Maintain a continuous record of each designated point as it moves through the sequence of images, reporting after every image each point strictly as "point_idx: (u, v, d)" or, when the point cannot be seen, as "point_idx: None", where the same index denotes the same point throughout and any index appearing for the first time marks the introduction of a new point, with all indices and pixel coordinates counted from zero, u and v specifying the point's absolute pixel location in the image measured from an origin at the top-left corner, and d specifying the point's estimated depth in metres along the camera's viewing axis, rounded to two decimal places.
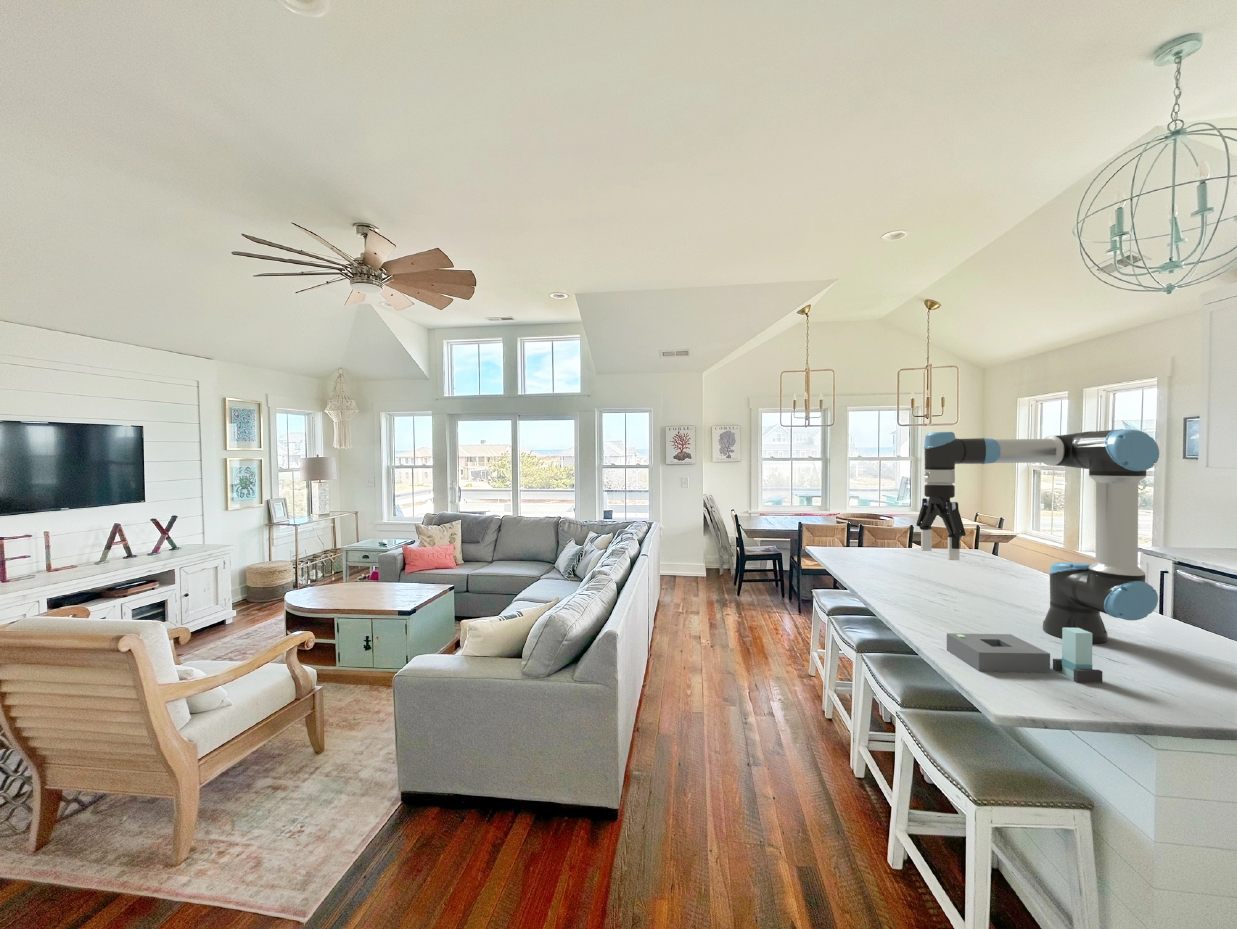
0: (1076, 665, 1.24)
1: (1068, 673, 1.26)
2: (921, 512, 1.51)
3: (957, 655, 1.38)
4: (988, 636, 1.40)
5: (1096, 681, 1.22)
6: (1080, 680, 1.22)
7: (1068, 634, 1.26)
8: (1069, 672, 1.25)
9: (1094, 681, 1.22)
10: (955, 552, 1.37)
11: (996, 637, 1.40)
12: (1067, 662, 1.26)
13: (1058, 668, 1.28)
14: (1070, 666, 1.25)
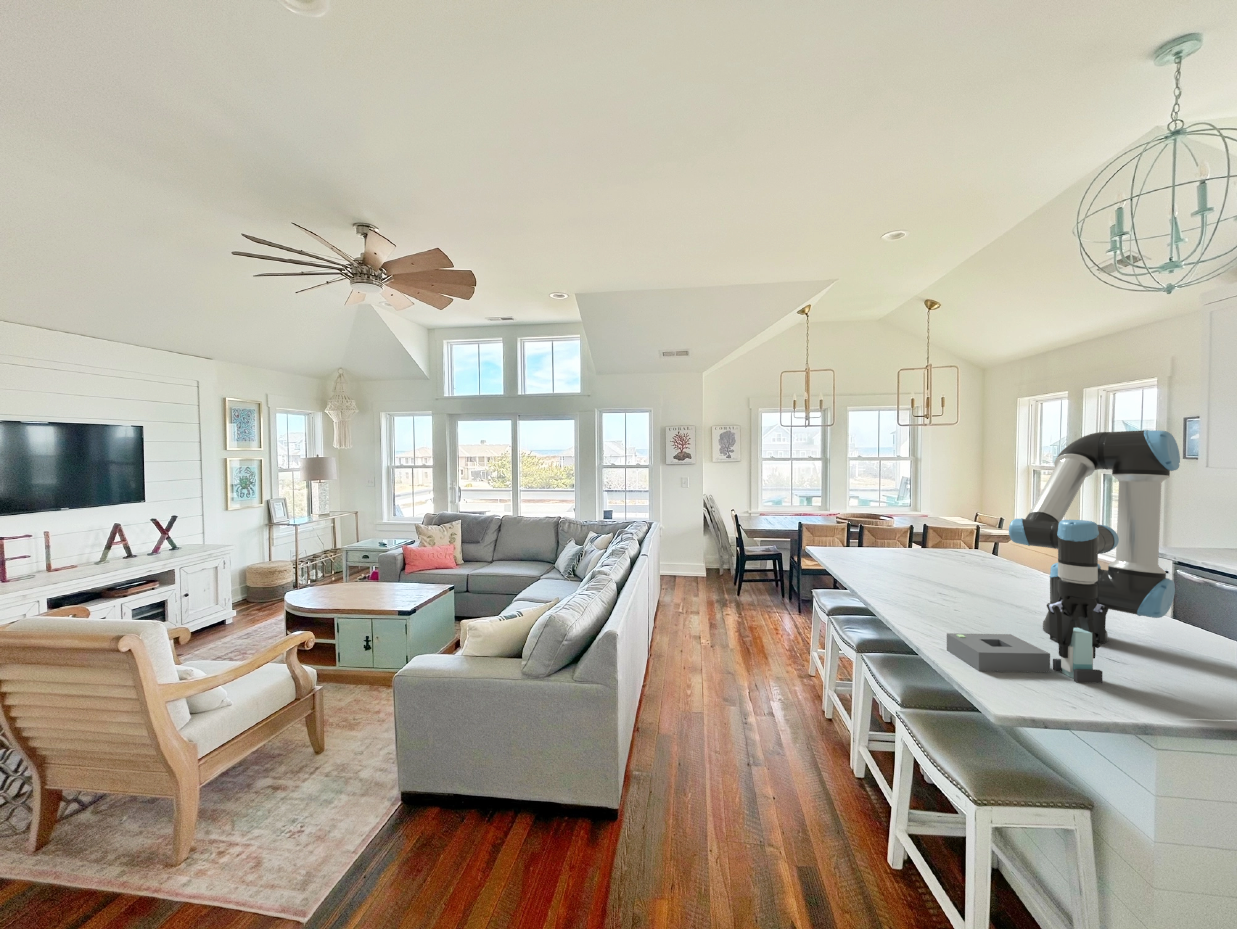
0: (1076, 665, 1.24)
1: (1068, 673, 1.26)
2: None
3: (957, 655, 1.38)
4: (988, 636, 1.40)
5: (1096, 681, 1.22)
6: (1080, 680, 1.22)
7: None
8: (1069, 672, 1.25)
9: (1094, 681, 1.22)
10: (1066, 662, 1.25)
11: (996, 637, 1.40)
12: None
13: (1058, 668, 1.28)
14: None
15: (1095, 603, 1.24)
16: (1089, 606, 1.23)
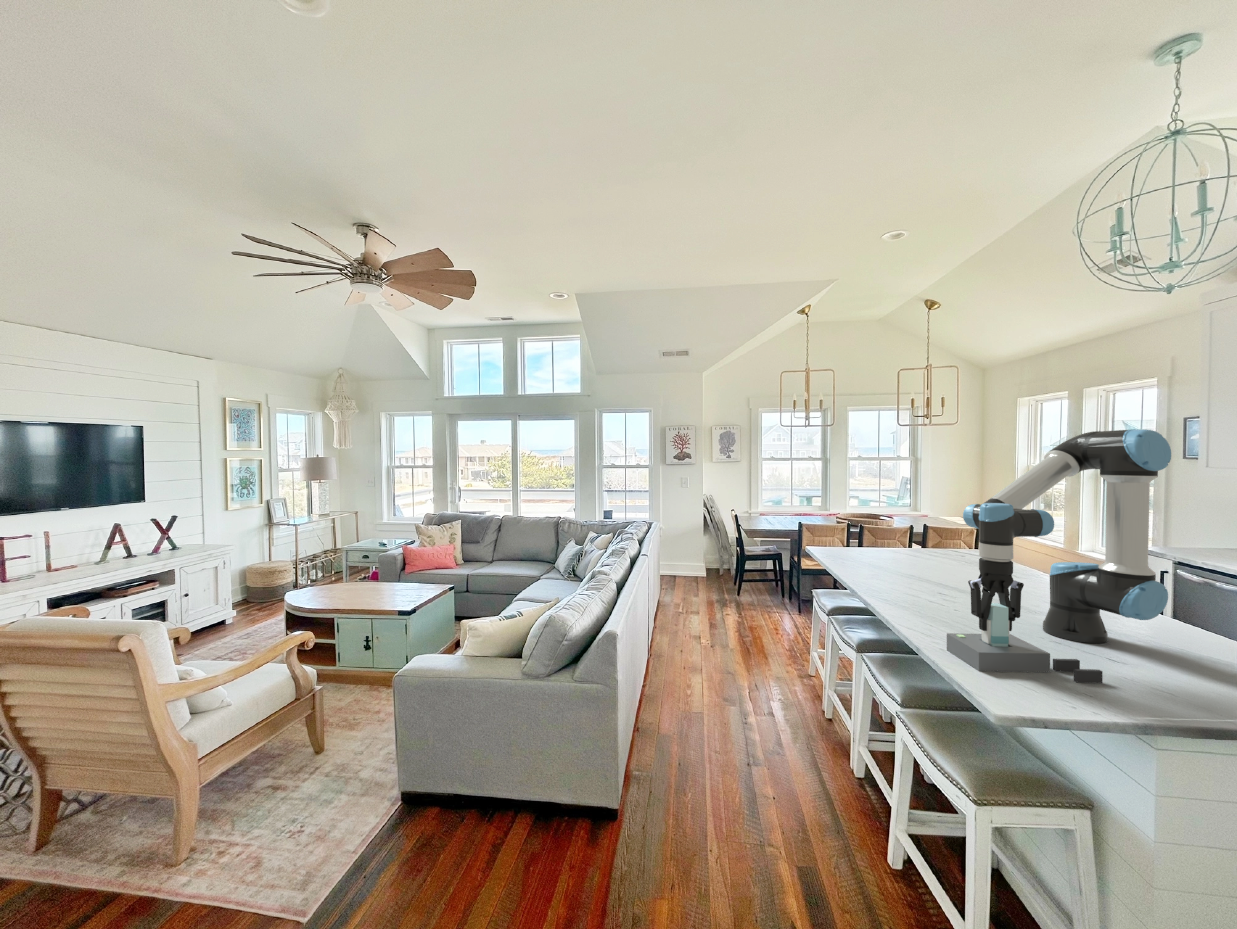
0: (993, 637, 1.33)
1: None
2: None
3: (957, 655, 1.38)
4: None
5: (1096, 681, 1.22)
6: (1080, 680, 1.22)
7: None
8: None
9: (1094, 681, 1.22)
10: (985, 634, 1.35)
11: None
12: None
13: (1058, 668, 1.28)
14: None
15: (1011, 580, 1.34)
16: (1005, 582, 1.33)
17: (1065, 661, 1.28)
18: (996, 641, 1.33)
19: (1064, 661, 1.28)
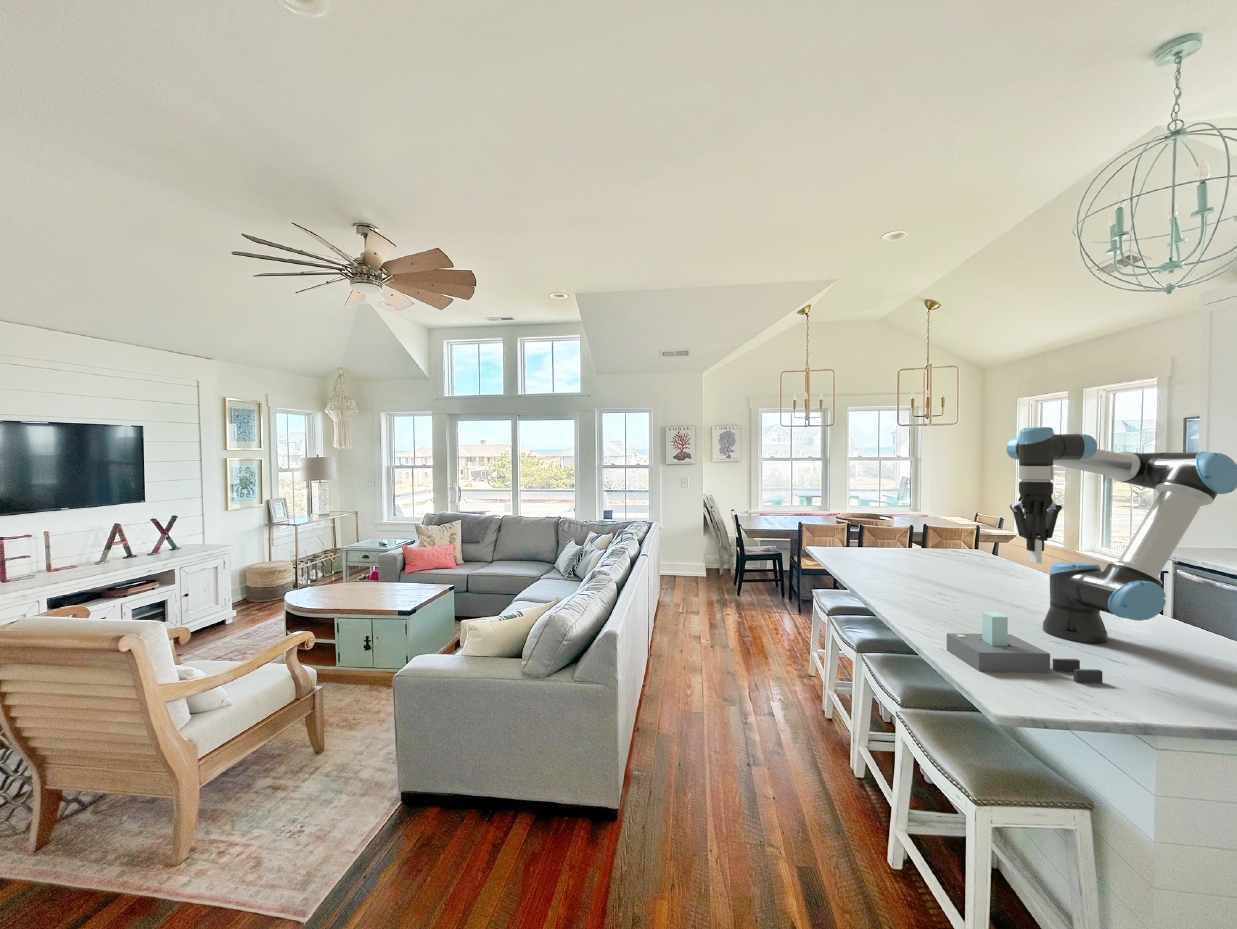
0: (992, 646, 1.33)
1: None
2: None
3: (957, 655, 1.38)
4: None
5: (1096, 681, 1.22)
6: (1080, 680, 1.22)
7: (986, 618, 1.35)
8: None
9: (1094, 681, 1.22)
10: (1033, 555, 1.40)
11: None
12: None
13: (1058, 668, 1.28)
14: None
15: (1051, 501, 1.38)
16: (1046, 503, 1.38)
17: (1065, 661, 1.28)
18: None
19: (1064, 661, 1.28)
